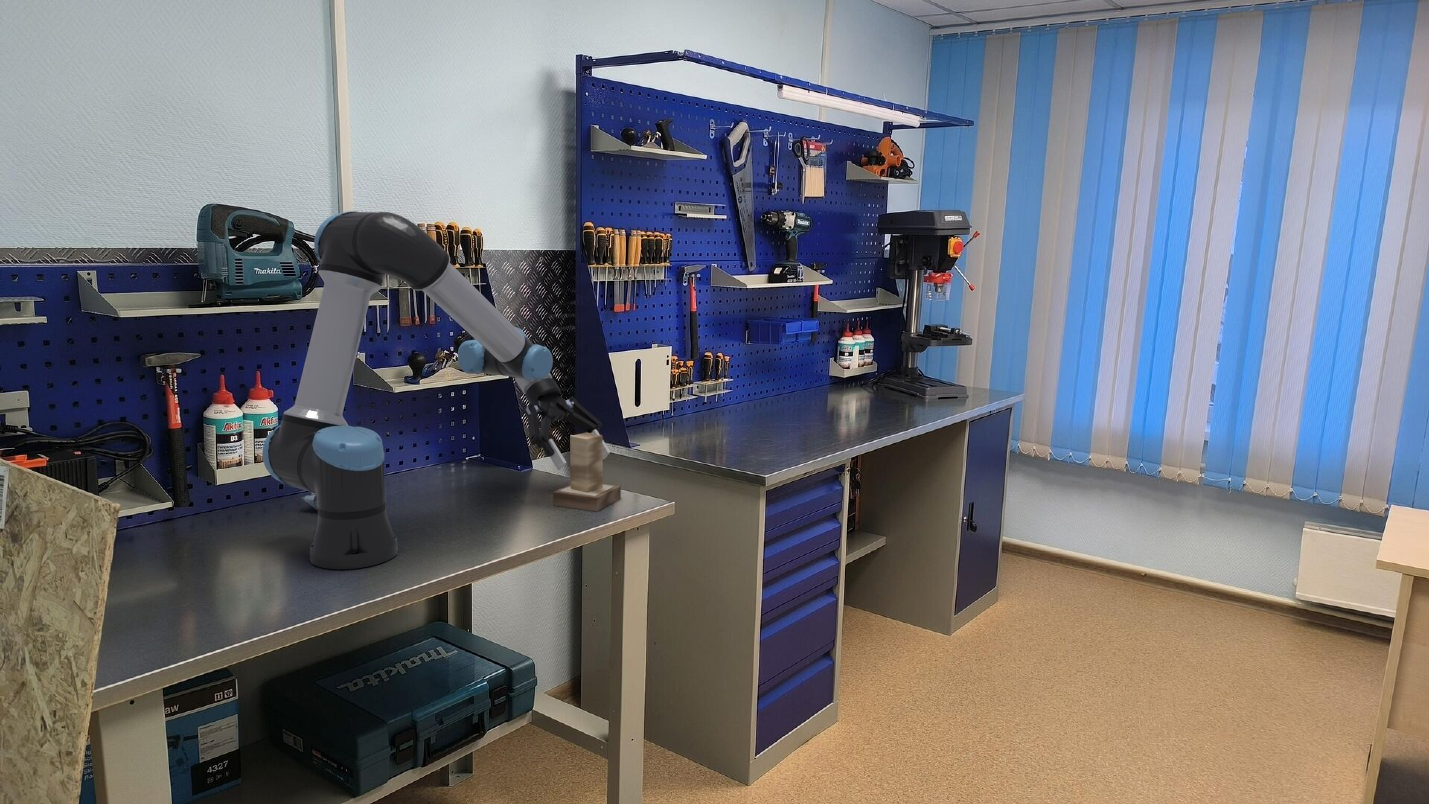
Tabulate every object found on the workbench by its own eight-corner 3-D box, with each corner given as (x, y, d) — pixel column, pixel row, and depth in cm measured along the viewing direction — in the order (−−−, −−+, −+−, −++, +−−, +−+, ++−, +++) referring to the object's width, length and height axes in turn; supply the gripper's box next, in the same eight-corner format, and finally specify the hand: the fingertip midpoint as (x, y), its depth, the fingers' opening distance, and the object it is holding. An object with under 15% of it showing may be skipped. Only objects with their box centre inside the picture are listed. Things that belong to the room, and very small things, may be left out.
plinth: (596, 511, 203) (596, 497, 202) (552, 505, 207) (552, 491, 206) (620, 498, 213) (620, 485, 212) (578, 493, 217) (578, 479, 216)
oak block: (586, 492, 206) (586, 439, 204) (570, 488, 209) (570, 436, 207) (602, 488, 210) (602, 435, 208) (586, 484, 213) (586, 432, 211)
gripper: (570, 390, 227) (615, 460, 220) (487, 403, 207) (534, 481, 201) (586, 370, 223) (632, 442, 216) (503, 382, 203) (550, 461, 197)
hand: (585, 461), depth 209 cm, fingers open, 13 cm apart
